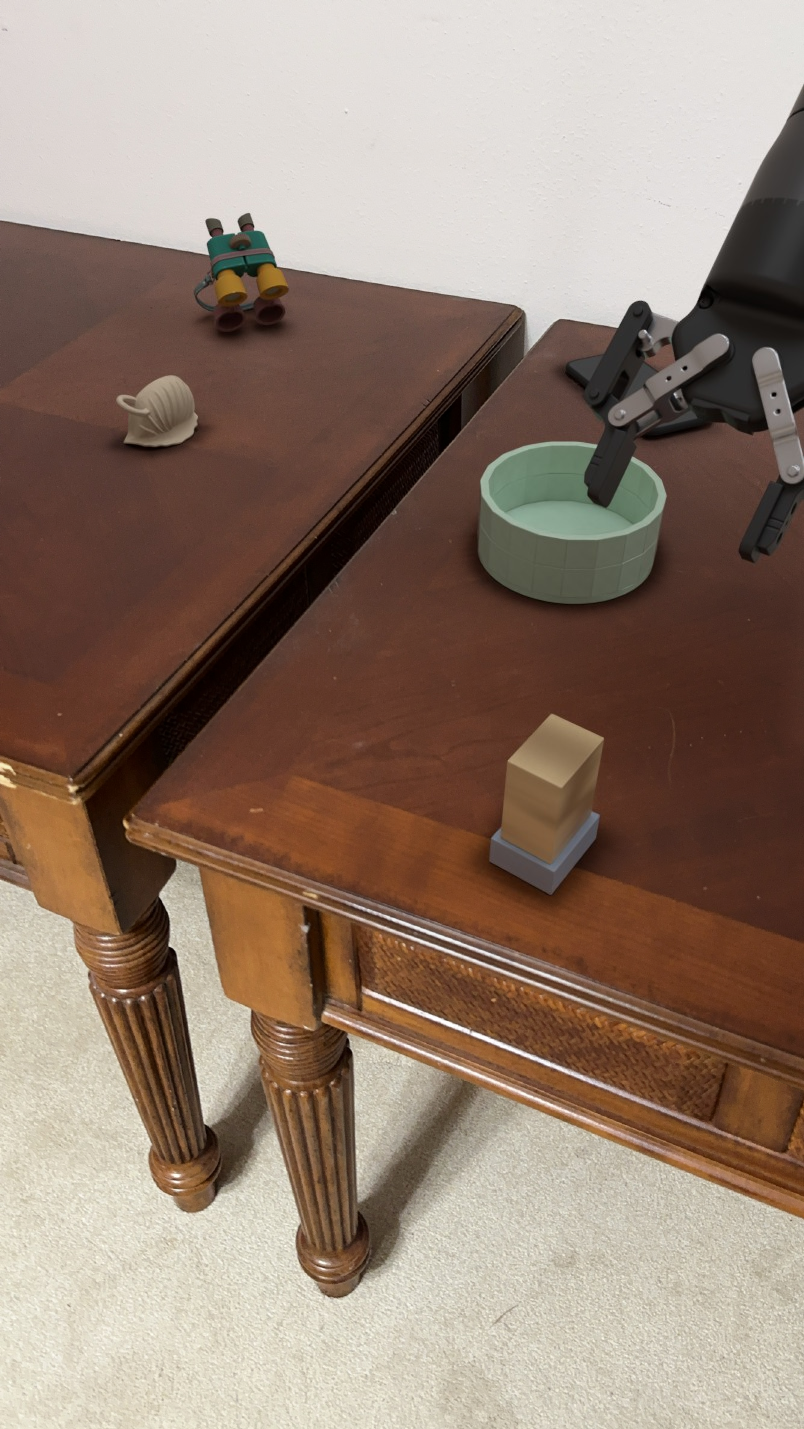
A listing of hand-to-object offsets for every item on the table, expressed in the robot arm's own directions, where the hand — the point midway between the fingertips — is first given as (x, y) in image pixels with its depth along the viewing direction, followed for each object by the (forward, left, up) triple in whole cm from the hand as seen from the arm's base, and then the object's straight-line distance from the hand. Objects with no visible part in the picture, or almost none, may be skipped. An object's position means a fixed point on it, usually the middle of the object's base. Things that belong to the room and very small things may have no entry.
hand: (669, 529), depth 57 cm
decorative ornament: (+45, -25, -16) cm, 54 cm away
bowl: (+8, -19, -16) cm, 26 cm away
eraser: (+3, +10, -16) cm, 19 cm away
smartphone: (+7, -45, -16) cm, 49 cm away
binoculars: (+47, -48, -16) cm, 69 cm away
